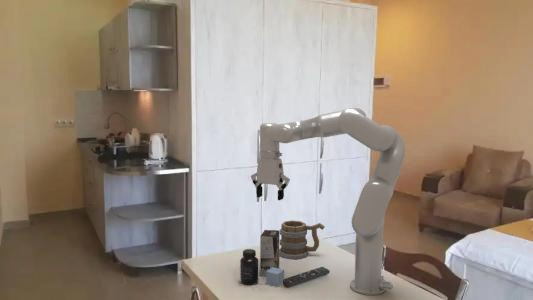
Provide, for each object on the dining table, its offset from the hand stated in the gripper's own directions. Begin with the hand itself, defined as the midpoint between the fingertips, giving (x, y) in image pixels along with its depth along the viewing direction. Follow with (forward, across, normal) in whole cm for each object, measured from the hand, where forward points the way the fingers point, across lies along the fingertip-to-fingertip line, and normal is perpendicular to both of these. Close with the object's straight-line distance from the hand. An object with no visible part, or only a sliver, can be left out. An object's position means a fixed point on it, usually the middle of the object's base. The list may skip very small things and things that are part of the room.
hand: (269, 198), depth 172 cm
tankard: (+30, -2, -24) cm, 38 cm away
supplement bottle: (+30, +2, +13) cm, 33 cm away
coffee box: (+30, 0, 0) cm, 30 cm away
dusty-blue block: (+30, -7, +8) cm, 32 cm away
